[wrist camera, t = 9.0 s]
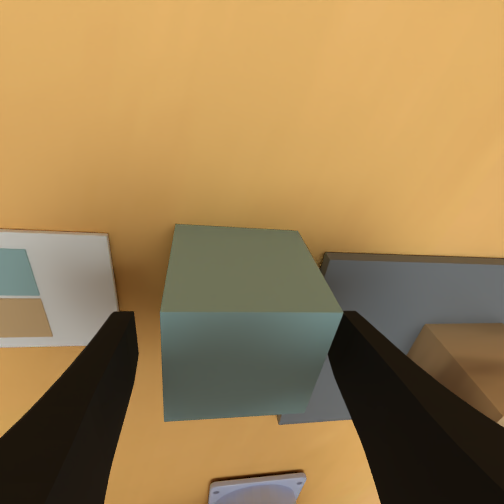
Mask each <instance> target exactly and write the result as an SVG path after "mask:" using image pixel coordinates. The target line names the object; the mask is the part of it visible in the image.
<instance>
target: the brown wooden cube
mask: <svg viewBox="0 0 504 504" xmlns="http://www.w3.org/2000/svg"><path fill="white" fill-rule="evenodd" d="M406 356H408V357H409V358H410V359H411V360H412V361H414V362H415V363H416V364H417V365H418V366H420V367H421V368H422V369H423V370H424V371H426V372H427V373H428V374H429V375H431V376H432V377H433V378H434V379H436V380H437V381H438V382H439V383H441V384H442V385H443V386H445V387H446V388H447V389H449V390H450V391H451V392H453V393H454V394H456V395H457V396H458V397H460V398H461V399H462V400H464V401H465V402H467V403H468V404H469V405H471V406H472V407H474V408H475V409H477V410H478V411H480V412H481V413H483V414H484V415H486V416H487V417H488V418H490V419H492V420H493V421H495V422H496V423H498V424H499V425H501V426H503V427H504V324H503V323H462V324H425V325H424V326H423V328H422V330H421V332H420V333H419V335H418V337H417V338H416V340H415V342H414V343H413V345H412V347H411V348H410V350H409V352H408V354H407V355H406Z"/></svg>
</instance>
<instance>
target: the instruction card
mask: <svg viewBox="0 0 504 504" xmlns="http://www.w3.org/2000/svg"><path fill="white" fill-rule="evenodd" d="M114 311H119V306H118V299H117V293H116V286H115V279H114V272H113V265H112V258H111V251H110V244H109V237H108V233H85V232H61V231H37V230H13V229H0V348H1V347H47V346H87V345H88V343H89V342H90V341H91V340H92V338H93V337H94V336H95V335H96V333H97V332H98V331H99V329H100V328H101V327H102V325H103V324H104V323H105V321H106V320H107V318H108V317H109V316H110V314H111V313H113V312H114Z"/></svg>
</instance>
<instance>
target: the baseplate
mask: <svg viewBox="0 0 504 504" xmlns="http://www.w3.org/2000/svg"><path fill="white" fill-rule="evenodd" d="M320 271H321V273H322V275H323V277H324V279H325V280H326V282H327V284H328V286H329V287H330V289H331V291H332V293H333V295H334V296H335V298H336V300H337V302H338V304H339V305H340V307H341V309H342V311H357V312H358V313H359V314H360V315H361V316H363V317H364V318H365V319H366V320H367V321H368V322H369V323H370V324H372V325H373V326H374V327H375V328H376V329H377V330H378V331H379V332H380V333H382V334H383V335H384V336H385V337H386V338H387V339H388V340H389V341H391V342H392V343H393V344H394V345H395V346H396V347H397V348H398V349H400V350H401V351H402V352H403V353H404V354H405V355H407V354H408V352H409V350H410V348H411V347H412V345H413V343H414V342H415V340H416V338H417V337H418V335H419V333H420V332H421V330H422V328H423V326H424V325H425V324H462V323H503V324H504V259H501V258H473V257H445V256H416V255H388V254H360V253H331V252H325V255H324V258H323V262H322V265H321V268H320ZM277 420H278V424H279V425H283V424H296V423H310V422H323V421H337V420H351V416H350V414H349V412H348V409H347V407H346V404H345V402H344V400H343V397H342V395H341V392H340V390H339V388H338V385H337V383H336V380H335V378H334V375H333V372H332V369H331V365H330V362H329V358H328V354H327V356H326V359H325V362H324V364H323V367H322V369H321V372H320V374H319V377H318V379H317V382H316V385H315V387H314V390H313V392H312V395H311V397H310V400H309V403H308V405H307V408H306V410H305V413H296V414H280V415H277Z"/></svg>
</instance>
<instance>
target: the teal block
mask: <svg viewBox="0 0 504 504" xmlns="http://www.w3.org/2000/svg"><path fill="white" fill-rule="evenodd" d="M343 313H344V312H343V311H342V309H341V307H340V305H339V304H338V302H337V300H336V298H335V296H334V295H333V293H332V291H331V289H330V287H329V286H328V284H327V282H326V280H325V279H324V277H323V275H322V273H321V271H320V270H319V268H318V266H317V264H316V262H315V261H314V259H313V257H312V255H311V254H310V252H309V250H308V248H307V246H306V245H305V243H304V241H303V239H302V237H301V236H300V234H299V232H298V231H292V230H274V229H256V228H238V227H220V226H202V225H184V224H176V225H175V230H174V236H173V242H172V247H171V253H170V258H169V264H168V270H167V275H166V281H165V287H164V292H163V298H162V303H161V309H160V326H161V352H162V378H163V404H164V422H168V421H184V420H200V419H216V418H232V417H248V416H264V415H280V414H296V413H305V410H306V408H307V405H308V403H309V400H310V397H311V395H312V392H313V390H314V387H315V385H316V382H317V379H318V377H319V374H320V372H321V369H322V367H323V364H324V362H325V359H326V356H327V354H328V351H329V349H330V346H331V344H332V341H333V338H334V336H335V333H336V331H337V328H338V326H339V323H340V321H341V318H342V315H343Z"/></svg>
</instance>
